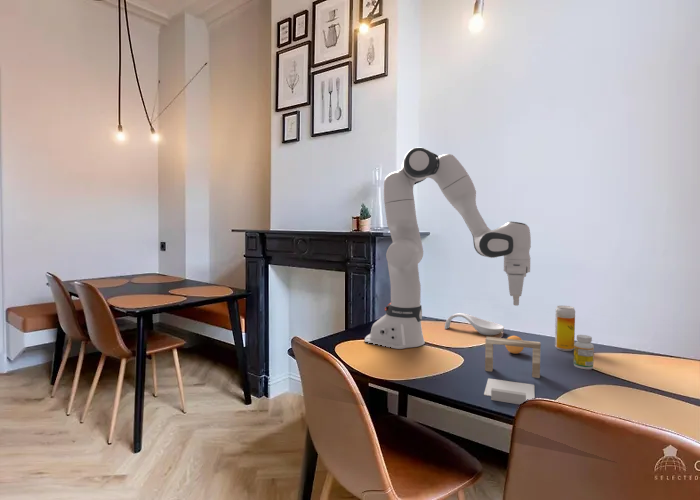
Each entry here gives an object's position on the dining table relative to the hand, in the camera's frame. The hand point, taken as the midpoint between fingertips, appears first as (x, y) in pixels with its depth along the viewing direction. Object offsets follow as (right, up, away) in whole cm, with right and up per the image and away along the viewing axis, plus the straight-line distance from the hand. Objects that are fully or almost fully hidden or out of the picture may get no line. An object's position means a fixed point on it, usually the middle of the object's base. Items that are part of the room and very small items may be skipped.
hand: (516, 304), depth 147 cm
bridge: (-12, -17, -26) cm, 33 cm away
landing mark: (-18, -18, -39) cm, 46 cm away
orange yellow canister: (+16, -15, -3) cm, 22 cm away
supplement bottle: (+12, -17, -21) cm, 30 cm away
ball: (-4, -13, -8) cm, 15 cm away
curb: (-21, -18, -46) cm, 53 cm away
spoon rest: (-9, -14, +21) cm, 27 cm away
